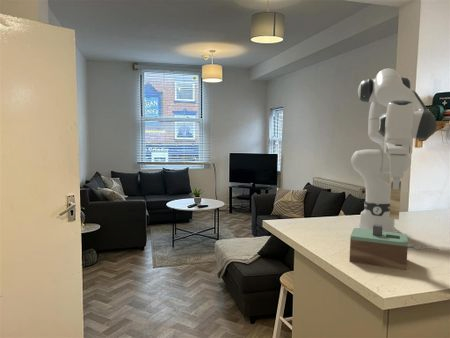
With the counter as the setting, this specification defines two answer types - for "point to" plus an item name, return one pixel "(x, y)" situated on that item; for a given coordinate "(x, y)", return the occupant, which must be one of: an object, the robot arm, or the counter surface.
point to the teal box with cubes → (379, 236)
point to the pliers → (419, 247)
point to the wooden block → (395, 202)
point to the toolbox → (378, 254)
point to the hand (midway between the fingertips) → (395, 188)
